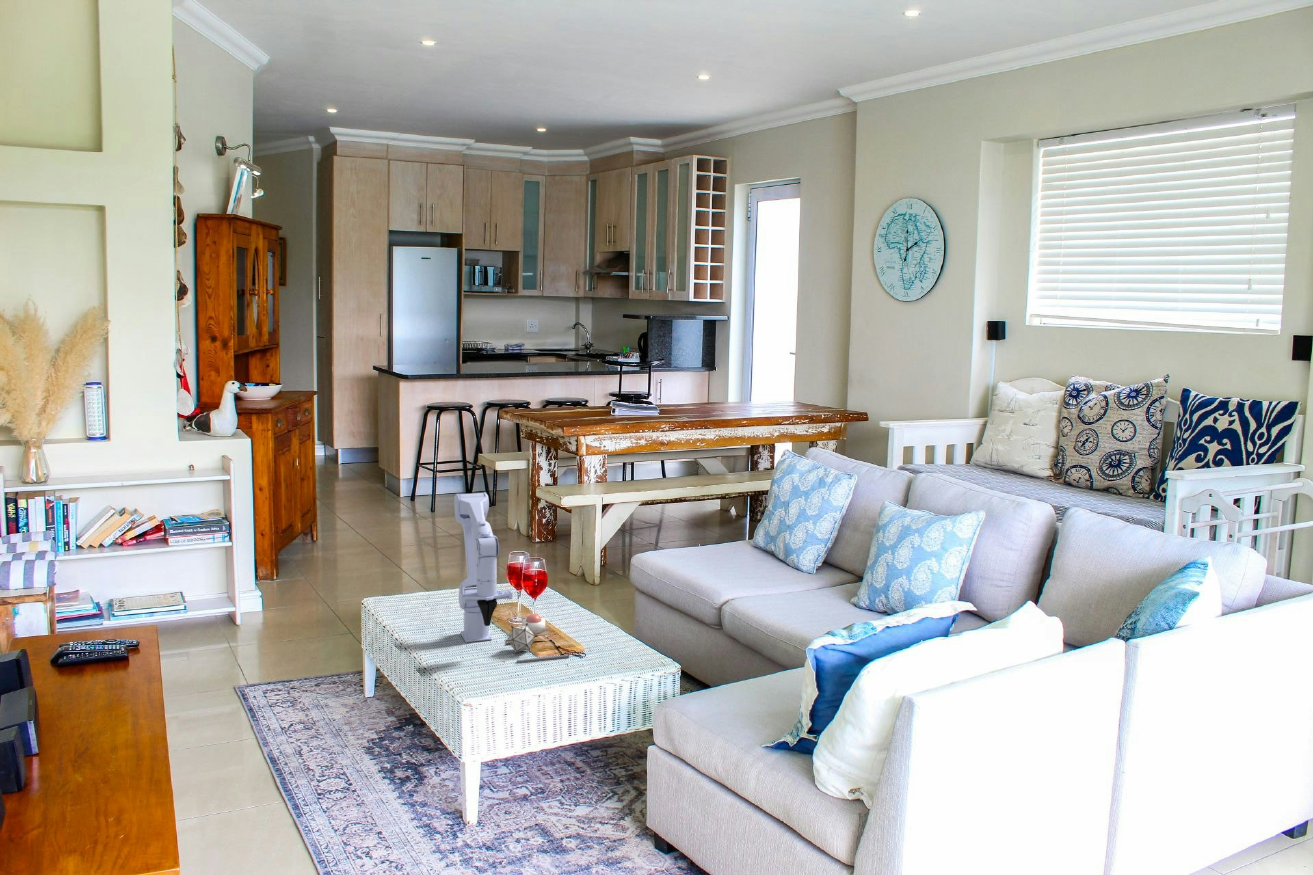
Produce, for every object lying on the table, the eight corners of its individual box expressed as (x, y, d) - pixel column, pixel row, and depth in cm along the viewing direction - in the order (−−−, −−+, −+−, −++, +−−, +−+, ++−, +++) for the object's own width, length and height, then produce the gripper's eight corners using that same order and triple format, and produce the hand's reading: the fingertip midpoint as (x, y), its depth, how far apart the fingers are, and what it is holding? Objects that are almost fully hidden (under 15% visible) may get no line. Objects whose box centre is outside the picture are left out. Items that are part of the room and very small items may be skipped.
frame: (505, 644, 312) (505, 642, 312) (554, 639, 317) (554, 637, 317) (517, 663, 296) (517, 661, 296) (568, 657, 301) (568, 655, 301)
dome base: (514, 631, 323) (514, 626, 323) (545, 628, 326) (545, 623, 326) (521, 641, 314) (521, 637, 314) (553, 638, 317) (553, 633, 317)
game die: (526, 665, 305) (534, 645, 299) (499, 654, 305) (506, 634, 298) (535, 642, 312) (543, 622, 306) (508, 631, 312) (516, 611, 305)
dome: (520, 627, 322) (519, 611, 321) (542, 625, 324) (542, 609, 324) (525, 634, 315) (525, 618, 315) (547, 632, 318) (547, 616, 317)
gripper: (463, 584, 292) (464, 631, 294) (514, 580, 297) (514, 626, 299) (459, 578, 299) (459, 623, 300) (509, 574, 303) (509, 619, 305)
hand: (486, 624), depth 300 cm, fingers closed
